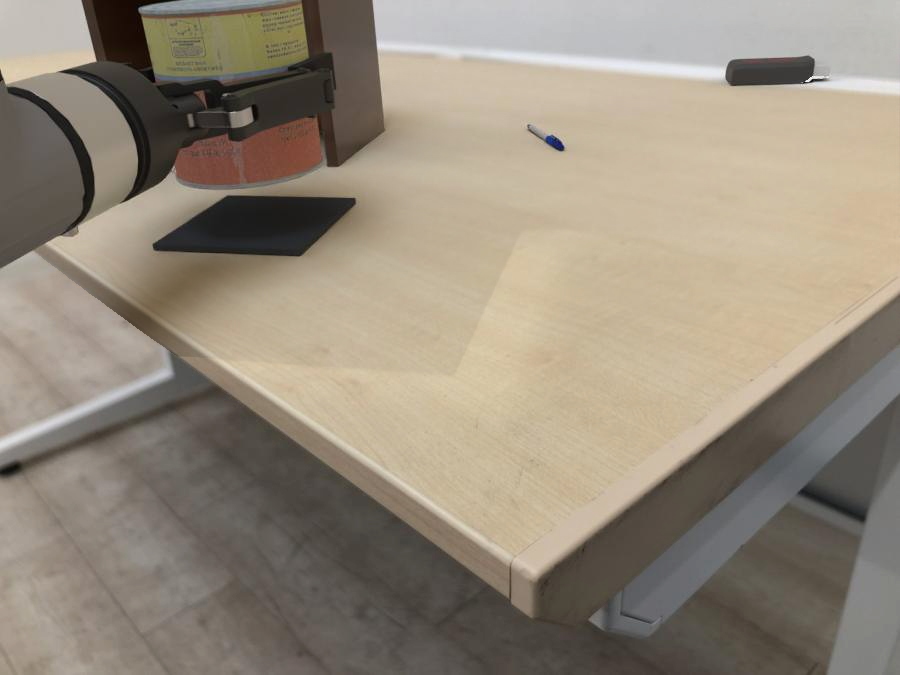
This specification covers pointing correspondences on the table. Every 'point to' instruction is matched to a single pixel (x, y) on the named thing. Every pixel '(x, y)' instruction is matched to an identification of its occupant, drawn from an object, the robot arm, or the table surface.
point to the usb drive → (775, 70)
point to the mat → (257, 225)
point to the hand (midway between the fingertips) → (259, 72)
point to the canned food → (232, 59)
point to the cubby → (327, 30)
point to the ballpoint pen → (547, 137)
